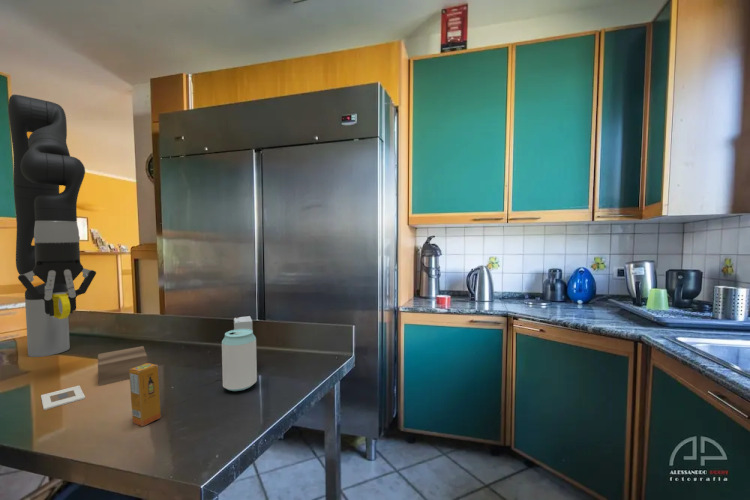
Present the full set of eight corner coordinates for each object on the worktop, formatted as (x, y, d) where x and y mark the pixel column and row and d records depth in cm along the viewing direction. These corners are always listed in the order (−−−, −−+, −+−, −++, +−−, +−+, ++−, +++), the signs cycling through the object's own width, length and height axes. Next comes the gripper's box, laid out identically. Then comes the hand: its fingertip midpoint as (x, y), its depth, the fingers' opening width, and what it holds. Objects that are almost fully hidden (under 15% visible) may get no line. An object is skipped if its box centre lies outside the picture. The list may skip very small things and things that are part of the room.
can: (223, 395, 69) (222, 338, 68) (222, 382, 75) (220, 330, 74) (258, 388, 72) (257, 334, 71) (254, 376, 78) (253, 326, 78)
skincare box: (255, 368, 83) (254, 320, 82) (235, 371, 81) (234, 322, 80) (252, 359, 88) (251, 315, 88) (234, 362, 86) (233, 317, 86)
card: (40, 396, 68) (40, 394, 68) (79, 386, 73) (79, 384, 73) (43, 410, 63) (43, 408, 63) (85, 398, 67) (85, 396, 67)
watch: (46, 317, 77) (45, 292, 77) (62, 315, 80) (61, 291, 79) (59, 320, 75) (58, 294, 74) (74, 317, 77) (73, 292, 77)
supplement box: (150, 414, 61) (148, 361, 61) (161, 418, 60) (159, 364, 60) (130, 423, 58) (128, 367, 58) (141, 428, 57) (139, 371, 57)
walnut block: (98, 374, 80) (98, 354, 80) (143, 364, 86) (143, 346, 85) (98, 387, 73) (97, 365, 73) (147, 376, 79) (146, 355, 79)
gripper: (93, 240, 84) (96, 307, 85) (12, 241, 74) (16, 317, 75) (99, 240, 79) (102, 311, 80) (13, 241, 69) (17, 323, 69)
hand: (60, 314), depth 77 cm, fingers closed on watch, 2 cm apart
